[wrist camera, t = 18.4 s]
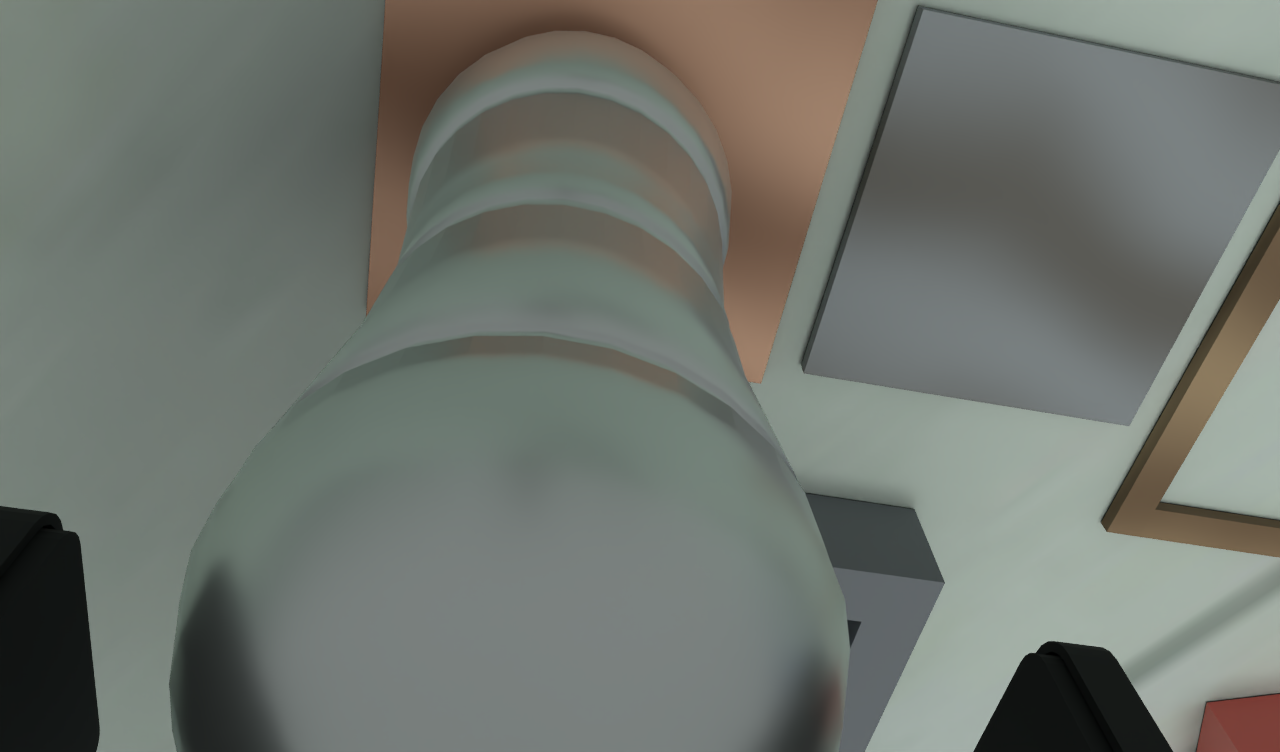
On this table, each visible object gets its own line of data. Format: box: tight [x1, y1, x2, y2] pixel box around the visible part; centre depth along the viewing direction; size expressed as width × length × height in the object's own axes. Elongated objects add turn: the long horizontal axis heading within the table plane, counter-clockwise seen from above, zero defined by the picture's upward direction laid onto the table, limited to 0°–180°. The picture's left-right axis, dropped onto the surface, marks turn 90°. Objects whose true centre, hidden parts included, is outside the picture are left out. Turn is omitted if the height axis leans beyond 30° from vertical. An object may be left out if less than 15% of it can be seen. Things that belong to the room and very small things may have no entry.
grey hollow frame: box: [805, 493, 945, 752], centre depth 29 cm, size 11×11×3 cm
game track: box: [366, 0, 1280, 557], centre depth 24 cm, size 16×37×1 cm, turn 79°
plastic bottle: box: [169, 31, 850, 752], centre depth 13 cm, size 6×7×20 cm
